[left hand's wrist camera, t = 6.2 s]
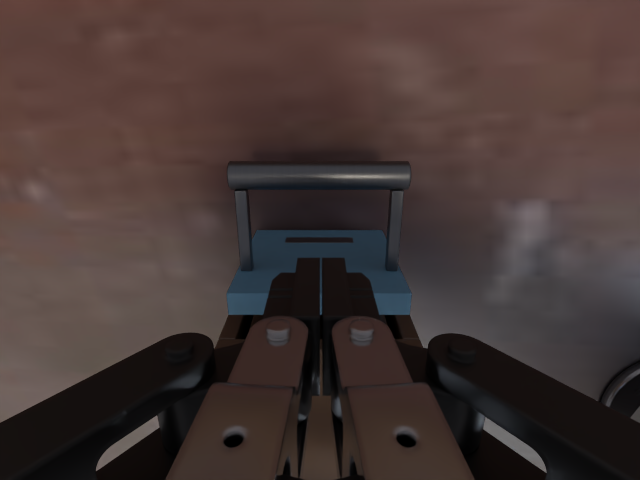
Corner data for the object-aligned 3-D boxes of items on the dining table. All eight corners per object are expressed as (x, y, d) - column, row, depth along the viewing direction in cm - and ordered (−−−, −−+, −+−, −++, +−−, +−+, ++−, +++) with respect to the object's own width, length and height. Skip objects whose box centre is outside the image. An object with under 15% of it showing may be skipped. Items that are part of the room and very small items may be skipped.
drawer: (251, 145, 24) (213, 171, 16) (387, 145, 24) (423, 171, 16) (269, 428, 33) (251, 545, 24) (369, 428, 33) (387, 545, 24)
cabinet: (252, 257, 28) (213, 349, 18) (386, 257, 28) (424, 349, 18) (265, 450, 35) (243, 597, 25) (373, 450, 35) (395, 596, 25)
